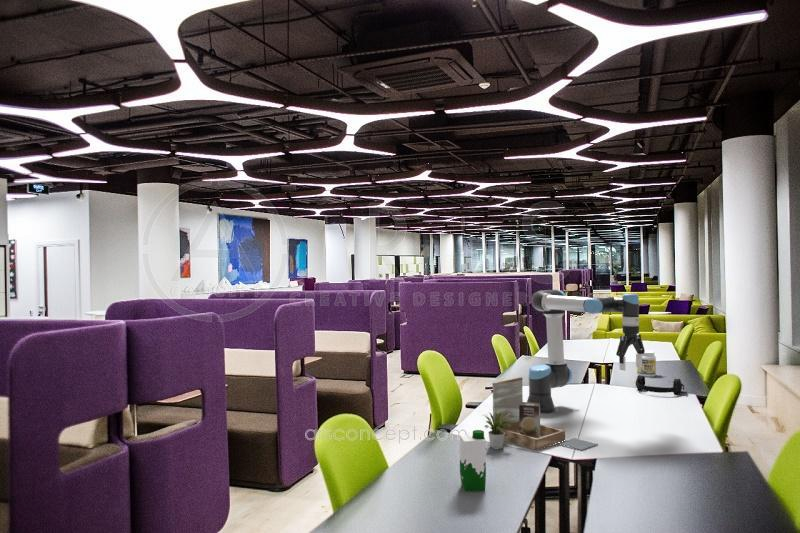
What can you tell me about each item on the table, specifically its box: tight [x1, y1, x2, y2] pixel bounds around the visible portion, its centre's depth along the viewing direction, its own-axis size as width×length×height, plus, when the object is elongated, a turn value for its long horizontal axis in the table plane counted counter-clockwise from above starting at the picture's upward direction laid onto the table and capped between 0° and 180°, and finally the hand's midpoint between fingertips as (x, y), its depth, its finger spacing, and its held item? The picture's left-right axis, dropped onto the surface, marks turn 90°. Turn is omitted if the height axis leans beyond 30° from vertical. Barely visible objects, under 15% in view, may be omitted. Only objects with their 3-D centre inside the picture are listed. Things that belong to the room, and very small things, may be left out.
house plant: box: [482, 410, 515, 450], centre depth 251 cm, size 14×14×16 cm
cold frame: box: [492, 376, 566, 451], centre depth 263 cm, size 25×20×25 cm
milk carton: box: [459, 429, 487, 493], centre depth 206 cm, size 9×9×20 cm
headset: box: [635, 374, 685, 395], centre depth 356 cm, size 28×26×9 cm
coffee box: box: [518, 401, 541, 438], centre depth 263 cm, size 9×6×16 cm
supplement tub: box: [636, 350, 657, 378], centre depth 407 cm, size 12×12×17 cm
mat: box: [557, 437, 598, 452], centre depth 254 cm, size 12×12×1 cm
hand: (630, 368), depth 284 cm, fingers open, 13 cm apart
